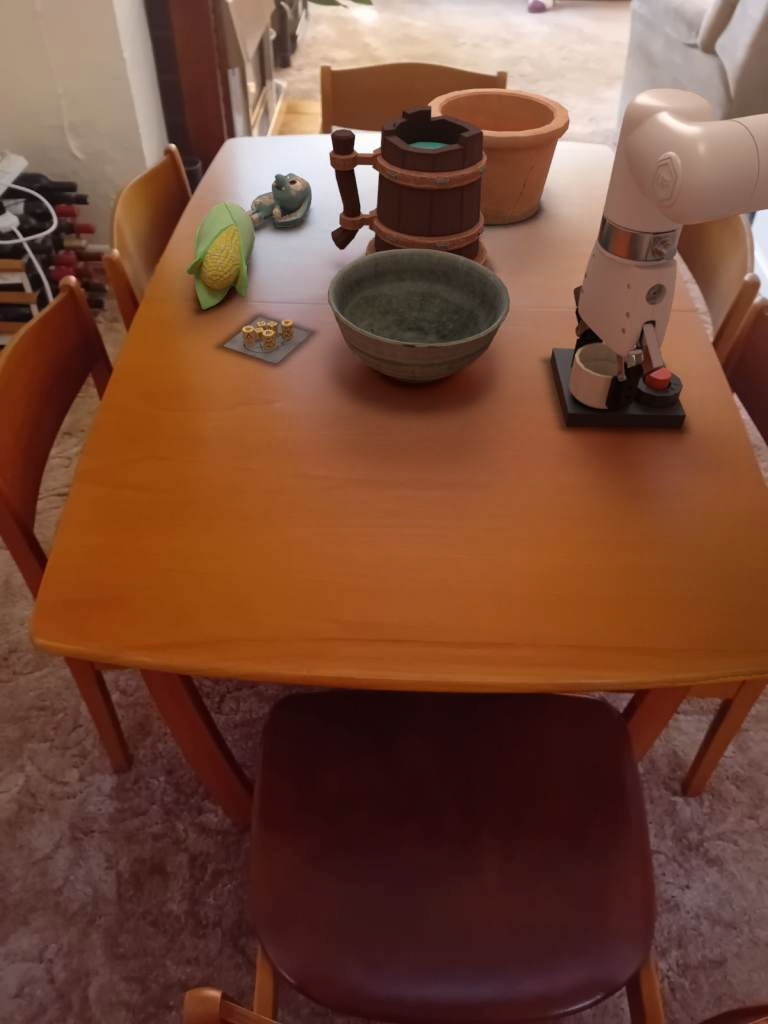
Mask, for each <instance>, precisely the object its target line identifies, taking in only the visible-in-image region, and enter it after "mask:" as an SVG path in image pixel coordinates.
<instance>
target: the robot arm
mask: <svg viewBox="0 0 768 1024" xmlns="http://www.w3.org/2000/svg"><path fill="white" fill-rule="evenodd" d="M607 187H608V188H607V192H606V197H605V202H604V206H603V211H602V215H601V220H600V224H599V230H598V234H597V237H596V240H595V242H594V244H593V247H592V250H591V251H590V252H591V253H590V256H589V259H588V262H587V265H586V268H585V271H584V275H583V279H582V284H581V285H579V286H577V287H575V288H573V297H574V302H575V312H574V313H575V316H576V321H577V325H576V326H575V330H574V331H575V336H576V337H577V338H576V341H575V346H574V349H575V350H574V354H573V359H572V364H571V368H572V367H573V363H574V358H575V354H576V353H577V351H578V349H579V348H581V347H583V346H585V345H586V344H591V343H606V344H607V345H608V346H609V347H610V348H611V349H612V350H613V351H614V352H615V353H616V360H617V375H616V376H613V377H612V380H611V384H610V387H609V391H608V395H607V399H606V404H605V406H606V407H607V408H608V409H613V408H617V407H622V406H627V405H630V404H632V403H633V401H634V398H635V394H636V391H637V387H638V384H639V380H640V378H642V377H645V376H647V375H650V374H652V373H653V372H655V371H657V370H659V369H661V368H662V367H663V361H664V359H663V356H662V355H663V354H662V352H661V347H662V345H663V342H664V339H665V335H666V332H667V329H668V324H669V321H670V316H671V311H672V307H673V301H674V296H675V289H676V282H677V274H678V273H677V270H678V269H677V268H678V262H677V260H676V259H675V257H676V255H677V253H678V249H677V247H678V244H679V241H680V237H681V233H682V231H683V227H684V225H696V224H697V225H698V224H702V223H703V224H704V223H707V222H711V221H717V220H722V219H726V218H731V217H736V216H740V215H746V214H751V213H755V212H760V211H767V210H768V112H767V113H760V114H753V115H748V116H742V117H735V118H729V119H723V120H714V109H713V106H712V105H711V103H710V102H709V101H708V100H707V99H706V98H705V97H703V96H701V95H699V94H697V93H695V92H692V91H688V90H683V89H678V88H668V87H666V88H665V87H664V88H661V87H660V88H652V89H647V90H643V91H641V92H639V93H637V94H636V95H633V97H632V98H631V99H630V101H629V102H628V103H627V105H626V107H625V110H624V113H623V117H622V122H621V126H620V131H619V136H618V140H617V146H616V149H615V155H614V160H613V163H612V169H611V173H610V178H609V183H608V186H607ZM632 355H635V365H634V366H632V367H629V368H628V364H627V356H632Z"/></svg>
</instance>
